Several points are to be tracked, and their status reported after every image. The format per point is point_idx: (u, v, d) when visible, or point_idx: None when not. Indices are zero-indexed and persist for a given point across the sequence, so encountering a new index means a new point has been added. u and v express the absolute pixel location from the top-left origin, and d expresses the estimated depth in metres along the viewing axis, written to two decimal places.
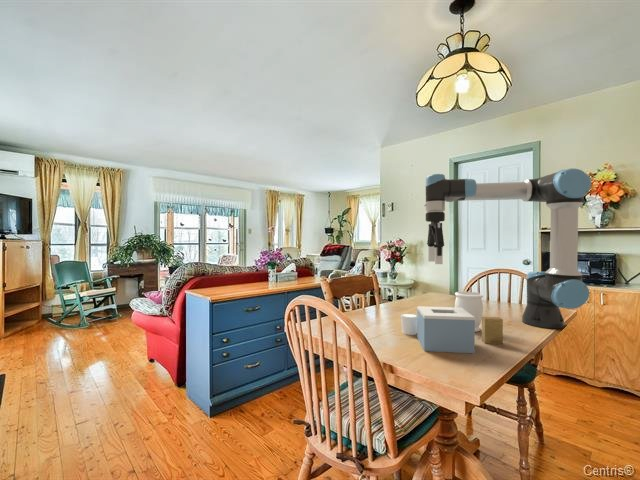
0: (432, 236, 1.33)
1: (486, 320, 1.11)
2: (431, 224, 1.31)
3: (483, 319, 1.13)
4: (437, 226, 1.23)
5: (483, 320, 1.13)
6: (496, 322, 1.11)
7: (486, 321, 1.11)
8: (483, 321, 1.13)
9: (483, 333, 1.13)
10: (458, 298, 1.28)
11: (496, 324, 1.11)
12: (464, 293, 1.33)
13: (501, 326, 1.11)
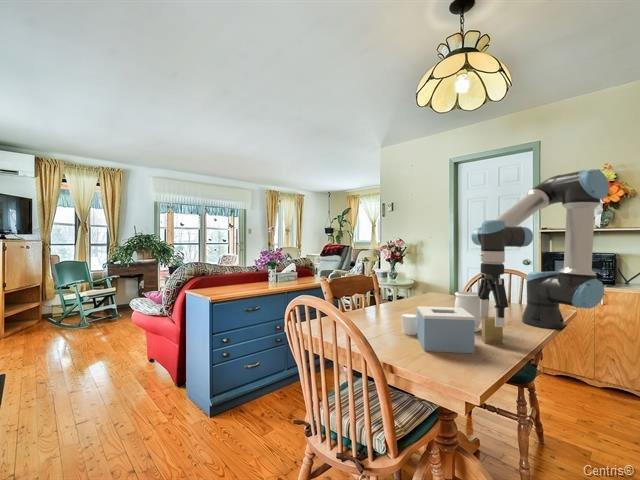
0: (487, 289, 1.16)
1: (486, 320, 1.11)
2: (487, 276, 1.14)
3: (483, 319, 1.13)
4: (498, 282, 1.06)
5: (483, 320, 1.13)
6: None
7: (486, 321, 1.11)
8: (483, 321, 1.13)
9: (483, 333, 1.13)
10: (458, 298, 1.28)
11: None
12: (464, 293, 1.33)
13: None
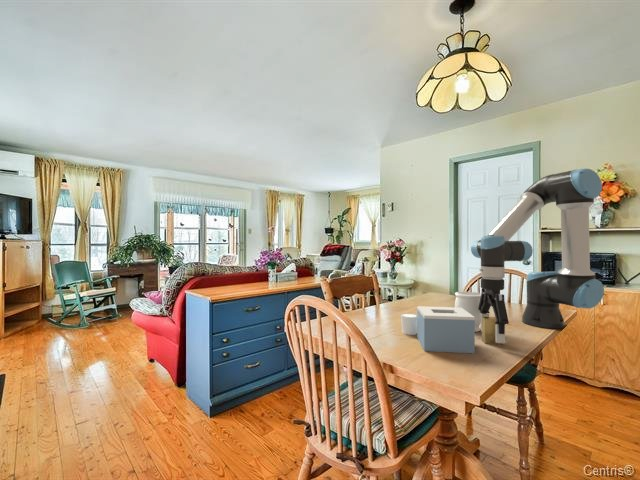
0: (487, 303, 1.16)
1: (486, 320, 1.11)
2: (487, 291, 1.14)
3: (483, 319, 1.13)
4: (498, 299, 1.06)
5: (483, 320, 1.13)
6: None
7: (486, 321, 1.11)
8: (483, 321, 1.13)
9: (483, 333, 1.13)
10: (458, 298, 1.28)
11: None
12: (464, 293, 1.33)
13: None
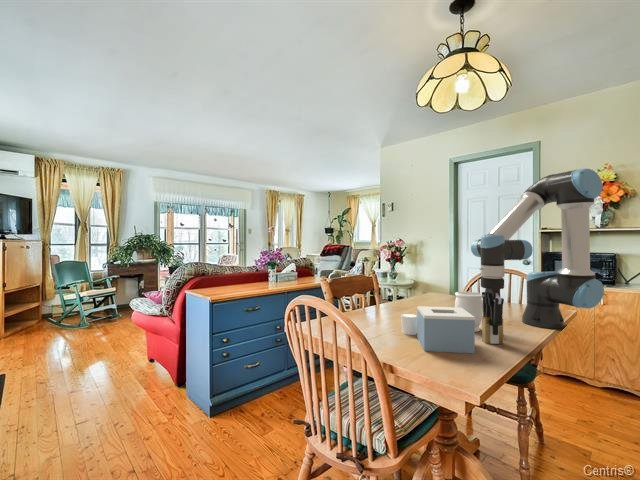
0: (489, 306, 1.14)
1: (486, 320, 1.11)
2: (486, 288, 1.15)
3: (483, 319, 1.13)
4: (497, 303, 1.07)
5: (483, 320, 1.13)
6: None
7: (486, 320, 1.11)
8: (483, 321, 1.13)
9: (483, 333, 1.13)
10: (458, 298, 1.28)
11: None
12: (464, 293, 1.33)
13: (501, 326, 1.11)
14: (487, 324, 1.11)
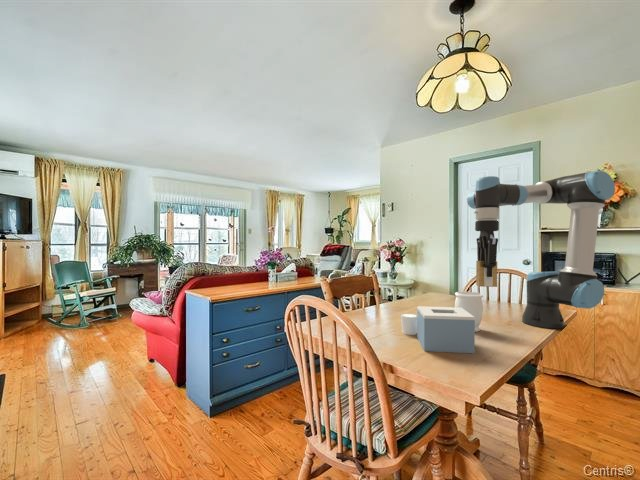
0: (484, 250, 1.13)
1: (480, 263, 1.11)
2: (481, 232, 1.14)
3: (478, 262, 1.12)
4: (492, 243, 1.06)
5: (478, 263, 1.12)
6: None
7: (480, 263, 1.11)
8: (478, 264, 1.12)
9: (477, 276, 1.12)
10: (458, 298, 1.28)
11: None
12: (464, 293, 1.33)
13: (495, 268, 1.10)
14: (481, 267, 1.11)
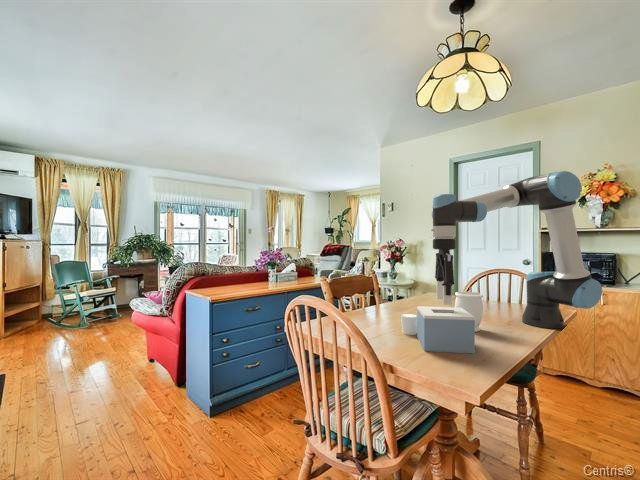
0: (441, 267, 1.13)
1: None
2: (439, 251, 1.12)
3: None
4: (447, 259, 1.03)
5: None
6: None
7: None
8: None
9: None
10: (458, 298, 1.28)
11: None
12: (464, 293, 1.33)
13: None
14: None
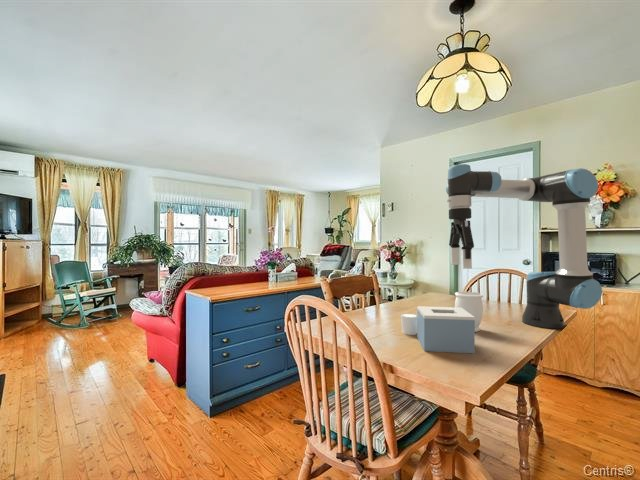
0: (456, 236, 1.16)
1: None
2: (455, 222, 1.14)
3: None
4: (464, 224, 1.06)
5: None
6: None
7: None
8: None
9: None
10: (458, 298, 1.28)
11: None
12: (464, 293, 1.33)
13: None
14: None
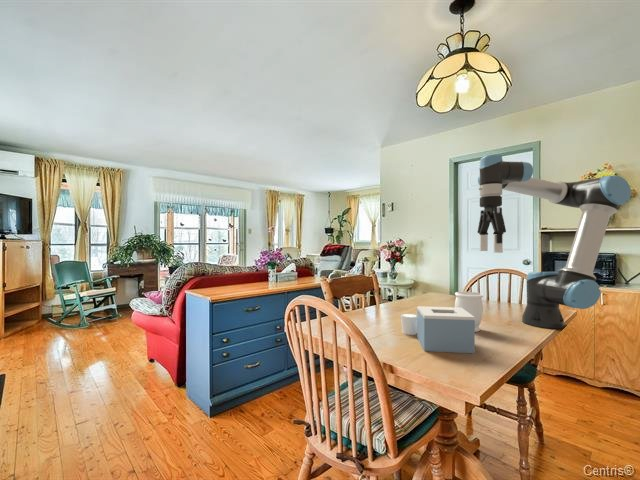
0: (486, 223, 1.23)
1: None
2: (485, 210, 1.21)
3: None
4: (496, 211, 1.12)
5: None
6: None
7: None
8: None
9: None
10: (458, 298, 1.28)
11: None
12: (464, 293, 1.33)
13: None
14: None
